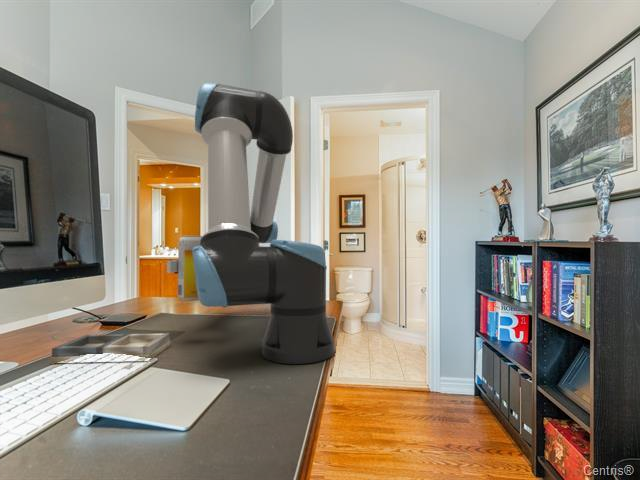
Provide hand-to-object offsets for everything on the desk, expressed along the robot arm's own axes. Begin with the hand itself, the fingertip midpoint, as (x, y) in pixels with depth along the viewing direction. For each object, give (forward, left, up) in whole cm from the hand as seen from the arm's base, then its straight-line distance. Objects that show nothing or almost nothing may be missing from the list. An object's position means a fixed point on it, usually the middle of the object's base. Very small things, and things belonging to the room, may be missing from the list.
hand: (184, 266), depth 72 cm
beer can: (0, -5, -8) cm, 10 cm away
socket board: (+13, +3, -18) cm, 22 cm away
